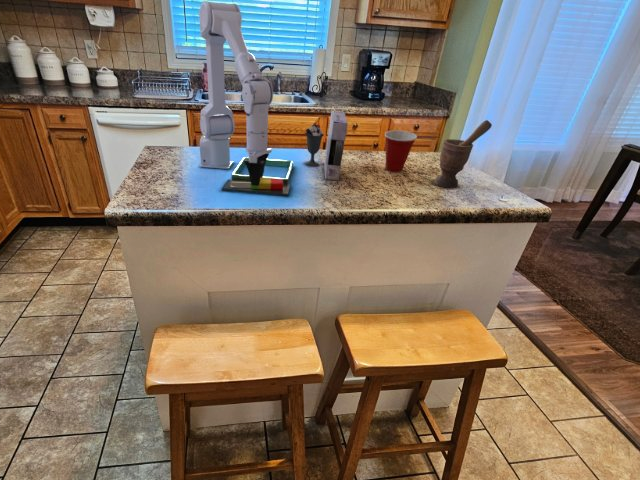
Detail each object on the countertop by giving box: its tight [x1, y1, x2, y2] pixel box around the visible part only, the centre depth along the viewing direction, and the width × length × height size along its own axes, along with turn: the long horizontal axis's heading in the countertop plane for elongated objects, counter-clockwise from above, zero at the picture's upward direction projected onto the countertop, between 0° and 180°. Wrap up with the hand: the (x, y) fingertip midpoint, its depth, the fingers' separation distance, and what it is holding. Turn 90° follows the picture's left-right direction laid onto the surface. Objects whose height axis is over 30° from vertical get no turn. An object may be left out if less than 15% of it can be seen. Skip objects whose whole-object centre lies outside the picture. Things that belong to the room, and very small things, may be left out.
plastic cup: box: [384, 129, 418, 173], centre depth 132 cm, size 11×11×12 cm
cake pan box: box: [323, 109, 349, 181], centre depth 124 cm, size 19×5×18 cm, turn 176°
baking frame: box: [231, 156, 294, 184], centre depth 124 cm, size 17×20×2 cm
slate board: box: [221, 179, 291, 197], centre depth 112 cm, size 19×8×1 cm, turn 85°
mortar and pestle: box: [433, 119, 493, 189], centre depth 119 cm, size 12×9×20 cm
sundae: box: [304, 117, 325, 167], centre depth 131 cm, size 7×7×15 cm
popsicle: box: [232, 177, 283, 190], centre depth 111 cm, size 6×15×2 cm, turn 93°
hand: (256, 181), depth 111 cm, fingers closed on popsicle, 6 cm apart
